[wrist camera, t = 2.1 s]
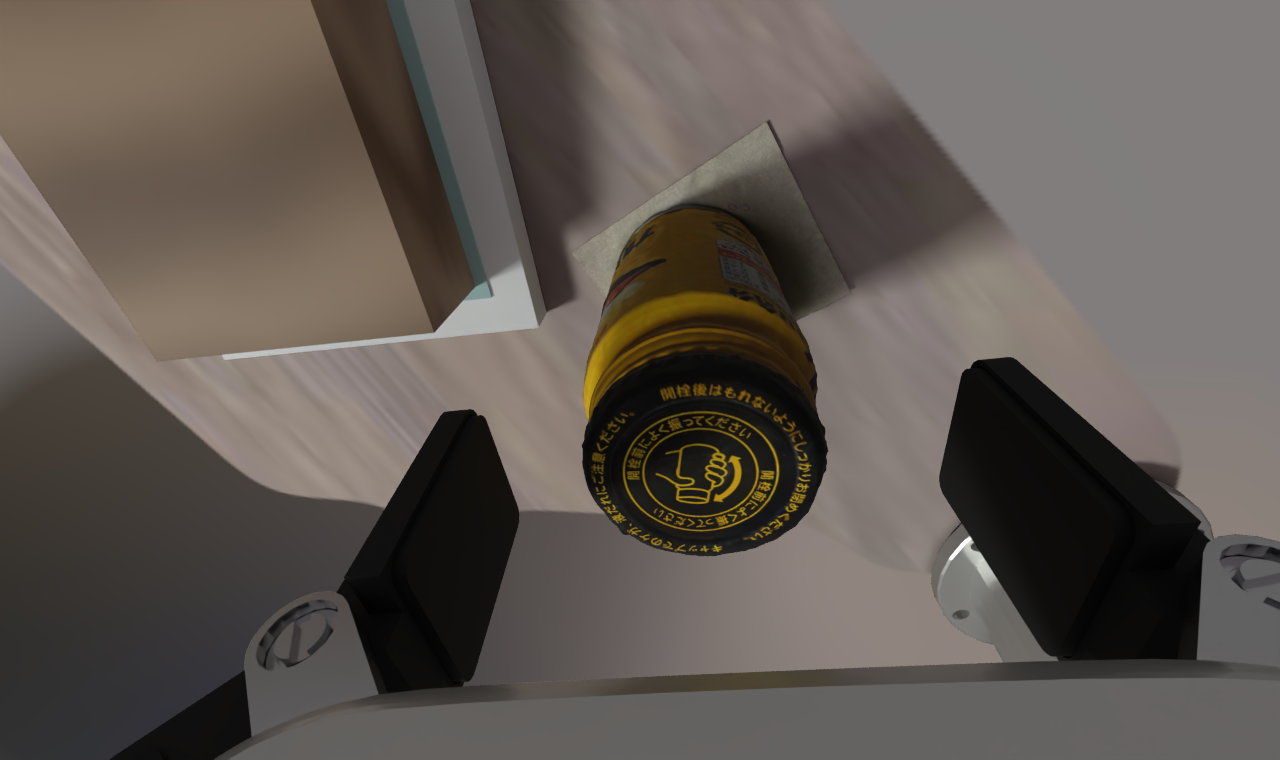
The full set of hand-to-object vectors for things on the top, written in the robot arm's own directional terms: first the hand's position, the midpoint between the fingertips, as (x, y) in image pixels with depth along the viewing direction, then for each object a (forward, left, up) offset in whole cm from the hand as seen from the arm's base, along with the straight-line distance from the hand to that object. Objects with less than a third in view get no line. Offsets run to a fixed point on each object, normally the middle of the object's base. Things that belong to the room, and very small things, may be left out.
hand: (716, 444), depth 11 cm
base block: (+5, +13, -10) cm, 18 cm away
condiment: (-1, -1, -12) cm, 12 cm away
